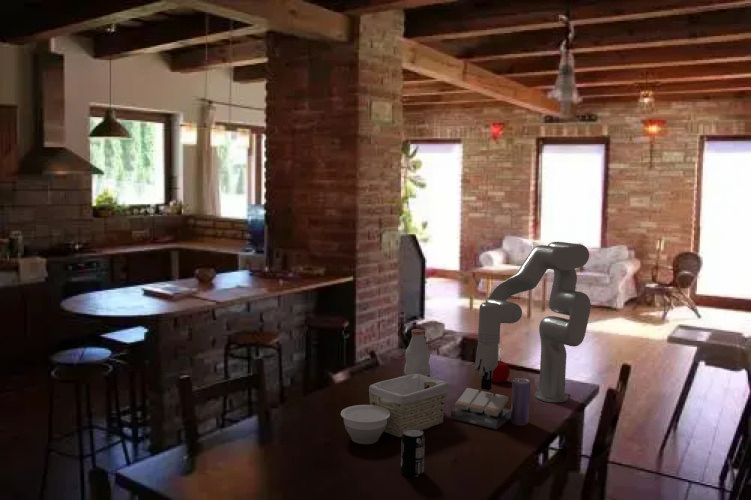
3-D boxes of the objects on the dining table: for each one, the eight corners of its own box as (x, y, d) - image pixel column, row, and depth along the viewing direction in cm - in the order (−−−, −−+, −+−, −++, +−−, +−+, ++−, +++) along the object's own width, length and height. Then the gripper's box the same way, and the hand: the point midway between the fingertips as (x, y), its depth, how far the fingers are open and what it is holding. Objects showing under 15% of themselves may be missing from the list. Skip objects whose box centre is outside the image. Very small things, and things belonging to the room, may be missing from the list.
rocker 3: (496, 397, 241) (495, 393, 240) (508, 400, 239) (507, 395, 238) (484, 413, 233) (484, 409, 233) (496, 416, 231) (496, 412, 230)
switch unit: (467, 408, 249) (467, 396, 249) (511, 418, 240) (511, 405, 240) (450, 418, 238) (450, 406, 238) (495, 429, 229) (496, 416, 229)
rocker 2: (481, 394, 244) (481, 390, 243) (493, 397, 242) (493, 392, 241) (470, 410, 236) (469, 406, 236) (482, 413, 234) (481, 408, 233)
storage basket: (414, 411, 246) (416, 371, 244) (449, 423, 234) (450, 381, 232) (365, 427, 229) (366, 384, 228) (400, 441, 218) (401, 396, 216)
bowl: (396, 433, 224) (396, 408, 223) (381, 451, 209) (381, 424, 208) (350, 426, 229) (351, 402, 228) (332, 444, 214) (332, 417, 213)
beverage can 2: (528, 426, 232) (530, 383, 231) (510, 424, 234) (512, 382, 232) (528, 420, 238) (530, 378, 237) (510, 418, 239) (512, 377, 238)
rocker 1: (467, 391, 247) (467, 387, 246) (479, 393, 244) (478, 389, 244) (455, 407, 239) (455, 403, 239) (467, 410, 237) (466, 405, 236)
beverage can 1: (399, 468, 198) (400, 427, 196) (421, 467, 198) (423, 427, 197) (402, 478, 191) (403, 436, 190) (425, 477, 192) (426, 436, 190)
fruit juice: (422, 399, 259) (424, 326, 255) (433, 407, 250) (435, 332, 247) (399, 402, 255) (401, 328, 252) (410, 410, 246) (412, 334, 243)
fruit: (511, 385, 278) (512, 361, 277) (488, 384, 278) (489, 360, 277) (507, 378, 287) (508, 355, 286) (485, 378, 287) (486, 354, 286)
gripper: (487, 332, 248) (485, 382, 250) (469, 340, 235) (467, 392, 237) (507, 336, 244) (504, 386, 246) (489, 343, 231) (487, 396, 233)
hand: (486, 389), depth 242 cm, fingers closed
